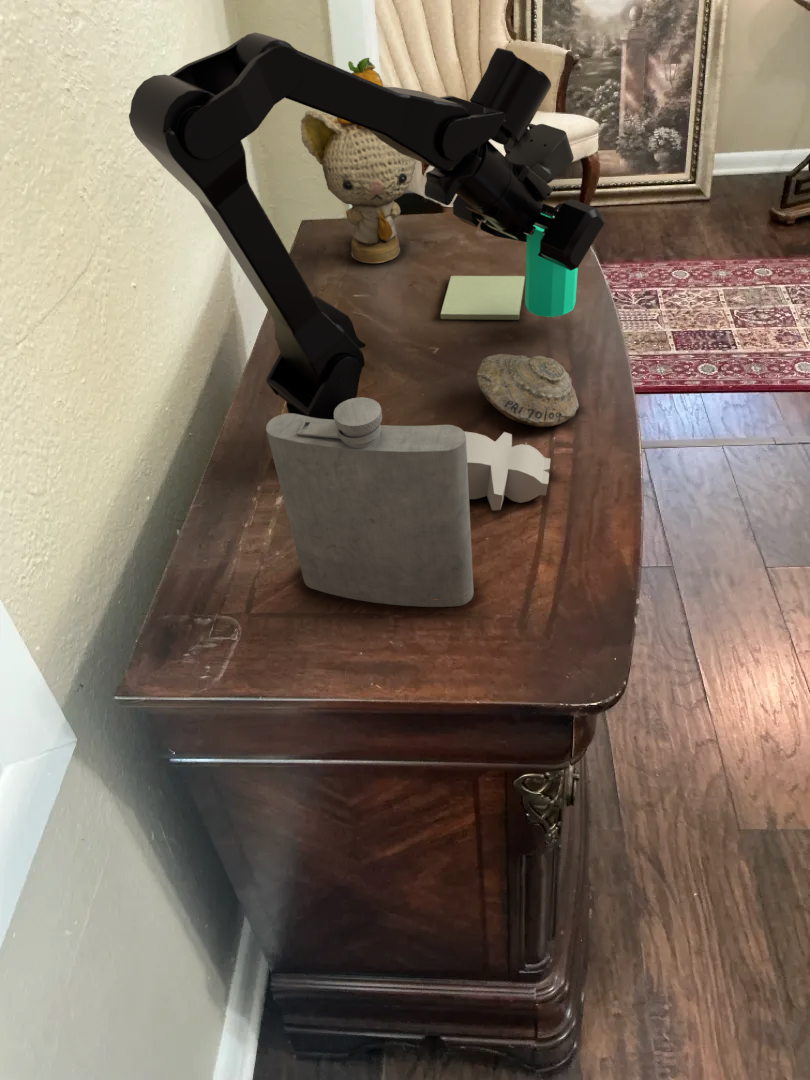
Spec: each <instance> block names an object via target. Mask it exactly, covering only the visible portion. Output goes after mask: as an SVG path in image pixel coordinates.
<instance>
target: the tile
mask: <svg viewBox="0 0 810 1080" xmlns="http://www.w3.org/2000/svg"><path fill="white" fill-rule="evenodd" d="M525 285H526V275H451V276H450V278H449V282H448V285H447V289H446V292H445V296H444V300H443V302H442V303H443V304H442V307H441V309H440V310H441V311H440V319H441V320H476V321H477V320H480V321H481V320H484V321H485V320H487V321H489V320H490V321H519V320H520V315H521V308H522V303H523V296H524V290H525Z"/></svg>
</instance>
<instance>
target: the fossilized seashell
mask: <svg viewBox="0 0 810 1080" xmlns="http://www.w3.org/2000/svg"><path fill="white" fill-rule="evenodd" d="M476 382H477V384H478V387H479V389H480V391H481V393H482V394H483V396H484V397H485V399H486V400H487V401H488V402H489V403H490V404H491V405H492V407H494V408H495V410H497V411H498V412H500V414H503V415H504V416H505V417H507V418H508V419H510V420H512V421H514V422H516V423H521V424H524V425H529V426H534V427H538V428H539V427H540V428H541V427H542V428H545V427H554V426H559V425H562V424H563V423H565V422H567V421H569V420H571V419H572V418H573V417H574V416H575V415H576V413H577V410H579V407H580V405H579V404H580V403H579V401H578V398H577V394H576V390H575V388H574V387H573V385H572V383H573V381H572V378H571V377H570V374H569V373H568V372H567V371H566V370H565V368H564V366H562V364H560V363H559V362H558V361H556V359H553V358H551V357H545V356H543V355H535V356H532V357H528V356H527V355H525V354H523V355H520V354H518V355H513V354H504V353H497V354H493V355H489V356H487V357H484V358H483V359H482V361H481V362H480V364H479V366H478V369H477V372H476Z"/></svg>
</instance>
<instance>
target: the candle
mask: <svg viewBox="0 0 810 1080" xmlns="http://www.w3.org/2000/svg"><path fill="white" fill-rule="evenodd" d="M555 206H556V205H554V206H553V207H555ZM541 214H542V213H541ZM546 216H547V215H546ZM547 217H548V216H547ZM553 217H554V216H553ZM550 218H551V217H550ZM533 226H535V225H533ZM535 227H536V229H535V232H534V233H533V235H531V236H530V235H527V242H526V244H525V245H526V249H525V289H524V290H525V291H524V292H525V295H524V297H525V298H524V299H525V300H524V306H525V307H526V309H527V311H528V312H529V313H531V314H533V315H535V316H539V317H546V318H553V317H561V316H565V315H566V314H569V313H570V312H572V311H573V310H574V308H575V306H576V303H577V302H576V301H577V286H578V274H579V273H578V272H579V271H578V270H579V267H578V268H576V269H574V270H568V269H566V268H564V267H562V266H560V265H557V264H555V263H553V262H551V261H548V260H546V259H544V258H542V257H540V256H538V254H539V252H540V241H541V239H542V238H543V236H544V234H543V231H544V229H542V228H540V227H537V226H535Z"/></svg>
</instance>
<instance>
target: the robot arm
mask: <svg viewBox="0 0 810 1080" xmlns="http://www.w3.org/2000/svg"><path fill="white" fill-rule="evenodd" d="M352 73H353V72H350V71H348V70H345V69H342V68H340V67H338V66H335V65H333V64H330V63H329V62H326V61H324V60H321V59H320V58H317V57H315V56H312V55H309V54H307V53H305V52H303V51H300V50H298V49H297V48H295V47H294V46H293V45H292V44H291V43H289V42H287V41H286V40H282V39H279V38H276V37H273V36H271V35H267V34H264V33H259V32H252V33H248V34H246V35H245V36H243V37H241V38H239V39H238V40H236V41H235V42H233V43H232V44H230V45H229V46H227V47H226V48H224V49H221V50H219V51H216V52H214V53H211V54H209V55H206V56H204V57H201V58H199V59H196V60H193V61H191V62H188V63H187V64H184V65H183V66H182V67H180V68H178V69H177V70H175V71H174V72H172V73H171V74H169V75H168V74H165V73H164V74H155V75H153V76H150V77H149V78H147V79H145V80H143V81H142V82H141V84H139V86H138V87H137V88H136V89H135V92H134V94H133V96H132V99H131V103H130V111H129V113H128V119H129V124H130V127H131V129H132V131H133V134H134V135H135V137H136V138H137V139H138V142H140V144H142V145H143V147H145V148H146V150H147V151H148V152H149V153H150V154H151V155H152V156H153V157H154V159H156V160H157V161H158V162H159V164H160V165H161V166H162V167H163V168H164V169H165V170H166V171H167V172H168V173H169V174H170V175H171V176H172V177H174V178H175V180H177V181H178V182H179V183H180V184H181V185H182V186H183V187H184V188H185V189H186V190H187V191H188V192H189V193H191V195H192V196H193V197H194V198H195V199H196V200H197V201H198V202H199V204H200V206H201V207H202V209H203V210H204V212H205V213H206V215H207V216H208V218H209V220H210V221H211V223H212V224H213V226H214V228H215V230H216V231H217V232H218V235H219V236H220V238H222V240H223V242H224V243H225V245H226V246H227V249H228V250H229V251H230V253H231V254H232V256H233V257H234V259H235V261H236V262H237V264H238V266H239V267H240V268H241V270H242V272H243V273H244V275H245V276H246V278H247V279H248V281H249V283H250V284H251V285H252V287H253V289H254V290H255V292H256V293H257V295H258V297H259V298H260V300H261V302H262V303H263V305H264V306H265V307H266V310H268V312H269V314H270V315H271V317H272V319H273V327H274V339H275V341H276V344H277V346H278V349H279V352H280V353H279V355H278V357H277V359H276V360H275V362H274V364H273V366H272V367H271V369H270V371H269V374H268V375H267V377H266V379H265V380H266V381H265V382H266V384H267V385H268V387H269V388H270V389H271V391H272V392H273V393H274V394H275V395H276V396H279V397H280V398H281V399H282V400H284V401H285V402H286V409H287V413H293V414H299V415H303V416H308V417H313V418H318V419H331V420H334V410H335V408H336V407H337V406H338V405H339V404H340V403H342V402H344V401H346V400H348V399H352V398H357V396H358V391H359V384H360V380H361V374H362V370H363V368H364V367H365V365H366V361H365V356H364V354H363V353H364V352H363V351H362V349H363V348H365V347H366V343H365V342H363V341H361V340H360V338H359V337H358V336H357V333H356V331H355V328H354V324H353V321H352V320H351V318H350V316H349V315H348V314H347V313H345V312H343V311H342V310H340V309H339V308H337V307H335V306H333V305H332V304H331V303H329V302H327V301H326V300H324V299H322V298H321V297H320V296H319V295H314V296H313V293H312V292H311V290H310V288H309V286H308V284H307V283H306V281H305V280H304V278H303V276H302V274H301V273H300V271H299V269H298V267H297V265H296V264H295V262H294V260H293V258H292V256H291V255H290V253H289V251H288V250H287V248H286V246H285V245H284V242H283V241H282V239H281V237H280V236H279V234H278V232H277V231H276V229H275V227H274V225H273V224H272V222H271V220H270V218H269V217H268V215H267V213H266V211H265V209H264V208H263V206H262V204H261V203H260V201H259V199H258V197H257V195H256V193H255V192H254V190H253V188H252V187H251V184H250V182H249V179H248V169H247V157H246V150H245V148H244V144H243V141H242V140H244V139H245V138H247V137H249V136H250V135H251V134H253V133H254V132H255V131H256V130H257V129H258V128H259V127H260V126H261V124H262V123H263V122H264V120H265V119H266V117H267V116H268V114H269V113H270V112H271V110H272V109H273V108H274V106H275V105H277V104H278V103H279V102H281V101H282V100H284V99H287V100H289V101H292V102H294V103H295V102H296V103H297V104H301V105H303V106H306V107H309V108H311V109H313V110H315V111H318V112H321V113H323V114H327V115H329V116H331V117H335V118H337V117H338V118H340V119H343V120H346V121H348V122H351V123H354V124H356V125H359V126H362V127H364V128H366V129H367V130H369V131H370V132H372V133H373V134H374V135H375V136H376V137H378V138H379V139H380V140H381V141H383V142H384V143H386V144H387V145H389V146H390V147H392V148H393V149H395V150H396V151H398V152H399V153H401V154H403V155H405V156H408V157H410V158H413V159H415V160H416V161H418V162H420V163H423V164H425V165H428V166H429V167H432V170H430V171H427V172H425V178H426V182H425V184H424V192H423V193H424V196H425V197H427V198H429V199H432V200H433V201H435V202H438V203H440V204H443V205H445V206H449V205H451V204H452V214H453V216H454V217H456V218H457V219H459V220H460V221H461V222H463V223H465V224H467V225H469V226H471V227H474V228H478V227H479V228H480V230H481V231H482V232H485V233H487V234H489V235H491V236H494V237H496V238H502V239H506V240H513V241H518V242H522V243H527V235H530V236H531V235H533V233H534V232H535V229H536V227H535V226H537V227H540V228H542V229H544V231H543V234H544V236H543V238H542V239H541V241H540V252H539V254H538V256H540V257H542V258H544V259H546V260H548V261H551V262H553V263H555V264H557V265H560V266H562V267H564V268H566V269H568V270H574V269H576V268H578V269H579V266H580V264H581V263H582V261H583V260H584V258H585V257H586V255H587V253H588V252H589V250H590V248H591V247H592V245H593V243H594V242H595V240H596V238H597V237H598V235H599V233H600V232H601V230H602V228H603V227H604V225H605V223H606V222H605V216H604V215H603V214H602V213H601V211H599V210H598V209H597V208H596V207H594V206H591V205H588V204H586V203H584V202H580V201H578V200H575V199H572V198H571V199H568V200H566V201H564V202H561V203H558V204H557V205H554V206H555V207H554V206H551V205H549V204H547V203H544V201H548V200H549V198H550V197H551V195H552V193H553V191H554V189H553V188H552V187H551V186H550V185H549V184H550V183H551V182H552V181H554V179H556V177H558V175H559V174H561V173H562V171H563V170H564V169H565V168H566V167H569V166H570V165H571V164H572V163H573V161H574V158H575V157H574V154H573V153H574V152H573V151H572V150H573V149H572V147H571V144H570V141H569V138H568V135H567V132H566V130H563V129H561V128H557V127H554V126H551V125H548V124H545V123H539V124H534V123H531V122H532V121H533V120H534V118H535V115H536V114H537V112H538V111H539V109H540V107H541V105H542V103H543V102H544V100H545V98H546V96H547V95H548V93H549V91H550V90H551V88H552V81H551V79H550V78H549V77H548V76H547V74H546V73H545V72H543V71H542V70H538V69H537V68H535V66H533V65H531V64H530V63H529V62H527V61H525V60H523V59H521V58H519V57H518V56H517V55H516V54H515V53H514V52H513V50H509V49H505V48H501V47H496V48H495V50H494V52H493V54H492V55H491V58H490V60H489V62H488V65H487V68H486V69H485V72H484V74H483V75H482V77H481V79H480V81H479V82H478V85H477V86H476V88H475V90H474V91H473V94H472V95H471V97H470V99H469V100H466V99H463V98H460V97H458V96H455V95H446V96H445V95H444V96H436V95H433V94H431V93H426V92H423V91H420V90H415V89H410V88H409V89H408V88H403V87H396V86H384V85H383V86H380V85H378V84H376V83H373V82H371V81H368V80H366V79H364V78H361V77H359V76H357V75H354V74H352ZM490 140H491V141H493V142H495V143H496V144H499V145H503V150H504V153H505V154H503V153H502V152H501V151H500V150H499V149H497V147H495V146H494V144H493V143H492V142H491V141H490ZM455 196H456V197H455ZM541 213H542V214H541ZM546 215H547V216H548V217H547V216H546ZM553 216H554V217H553ZM550 217H551V218H550ZM533 225H535V226H533Z"/></svg>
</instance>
